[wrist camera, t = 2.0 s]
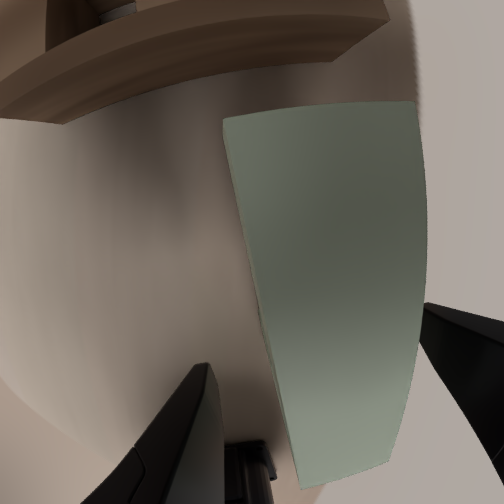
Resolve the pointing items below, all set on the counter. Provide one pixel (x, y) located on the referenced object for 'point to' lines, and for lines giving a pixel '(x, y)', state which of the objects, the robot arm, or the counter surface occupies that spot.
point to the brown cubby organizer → (158, 46)
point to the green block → (335, 270)
